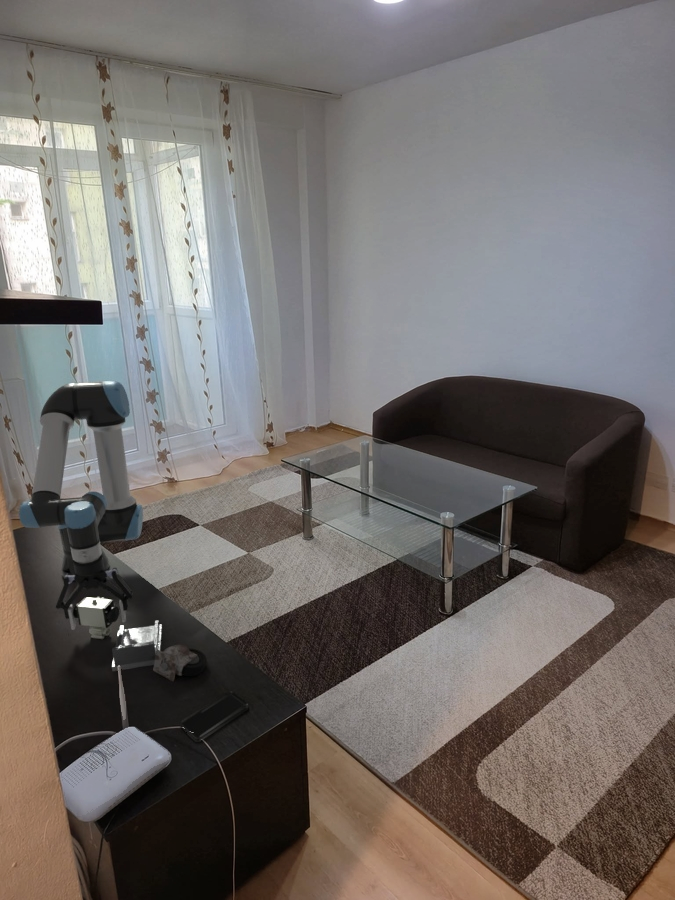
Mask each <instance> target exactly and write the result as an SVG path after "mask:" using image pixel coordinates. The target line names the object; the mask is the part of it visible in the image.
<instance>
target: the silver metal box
mask: <svg viewBox="0 0 675 900" xmlns="http://www.w3.org/2000/svg"><path fill="white" fill-rule="evenodd" d="M162 636H163V625H162V624H160V621H159V620H154V625H147V626H141V627H133V628H128V629H127V628H126V629H125V625H124V624H123V625H120V626H119V630H117V636H116V642H115V646H113V647H112V648H111V649H112V650H111V652H112V658H113V659H112V663H111V669H112V672H117V666H118V665H120V666H121V668H122V670H121V671H124V670H129V669H135V668H142V667H143V668H144V667H149V666H154V662H155V657H156V651H157V649H158V650H160V651H162V641H163V640H162ZM161 640H162V641H161Z"/></svg>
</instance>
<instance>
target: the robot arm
mask: <svg viewBox="0 0 675 900" xmlns="http://www.w3.org/2000/svg"><path fill="white" fill-rule="evenodd" d="M129 415H130V402H129V398H128V394H127V391H126V389H125V387H124V385H123V384H122V383H121V382H119V381H116V380H115V381H114V380H110V381H109V380H101V381H100V380H98V381H85V382H83V381H82V382H69V383H66V384H64V385H62V386H60V387H59V388H57V389H55V391H54V392H53V393H51V394H50V396H49V397H48V398H47V400H46V401H45V403H44V405H43V407H42V409H41V412H40V418H39V423H40V425H41V426H42V427H41V428H42V429H41V433H40V434H41V435H40V440H39V441H40V442H39V447H38V448H39V449H38V454H37V460H36V467H35V473H34V478H33V479H34V480H33V486H32V491H31V492H32V493H31V497H30V500H27V501H26V500H24V501H23V502H21V504H20V505H19V509H18V510H19V511H18V516H19V521H20V523H21V525H22V526H23V527H25V528H43V527H44V528H46V527H54V526H57V528H58V531H59V536H60V540H61V545H62V550H63V557H62V560H61V567H60V568H61V575H62V576H61V577H62V578H63V587H62V589H61V590H60V591H61V592H60V594H59V597H58V598H57V602H56V604H55V609H57V610H60V609H62V610H63V612H64V617H65V619H66V620H68V619H69V622H70V624H69V625H70V628H71V630H73V631H75V630H76V626H77V621H76V618H75V617H74V615H73V610H74V606H73V603H74V601H75V599H76V598H78V595H79V594H80V593H81V592H82V591H83V589H86V590H90V589H99V588H101V589H103V590H106V591H107V592H109V593H110V594H111V595H113V596H114V597H115V598H117V599H118V600H119V604H118V605H119V612H120V616H121V623H126V621H127V615H126V614H127V613H126V611H128V608H129V603H128V600H131V599H133V595H134V591H133V590H132V588H130V586H129V585H128V584H127V582H125V580H124V579H123V578H122V576H121V575H120V574H119V571H118V568H117V567H113V568H112V569H110V570H108V569H109V568H110V563H109V562H110V561H109V558H108V556H107V554H106V553H105V550H103V547H102V546H101V543H110V542H111V543H113V542H126V541H131V540H137V539H139V537H140V536H141V533H142V530H143V529H142V528H143V520H144V509H143V506H142V504H140V503H139V504H137V499H136V498H135V497H134V496H133V495H131V490H130V484H129V481H130V480H129V473H128V467H127V459H126V452H125V451H126V450H125V443H124V439H123V436H124V435H123V430H122V427H123V426H124V424H125V423H126V418H127V417H129ZM77 420H78V421H79V420H80V421H81V420H86V426H87V427H88V428H89V429H91V430H92V432H93V438H94V439H93V440H94V443H95V451H96V458H97V464H98V470H99V471H98V472H99V477H100V484H101V491H102V493H101V492H98V491H88V492H86V493H85V494H83V495H82V496H80V497H68V498H67V497H66V498H61V497H62V496H61V495H62V488H63V482H64V474H65V466H66V460H67V459H66V458H67V450H68V445H69V438H70V437H69V436H70V430H72V429H73V428H74V426H75V421H77ZM108 576H109V578H110V579H112V580H113V581H114V583H115V584H116V585H115V584H113V583H112V582H110V580H109V579H107V577H108ZM73 582H76V583H77V585H76V587H75V588H74V589H73V590H72V591H71V593H70V595H69V597H67V599H66V600H65V601H64V599H65V596H66V594H67V592H68V590H69V586H70V584H73ZM117 586H118V587H117Z"/></svg>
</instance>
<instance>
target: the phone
mask: <svg viewBox="0 0 675 900" xmlns="http://www.w3.org/2000/svg"><path fill="white" fill-rule="evenodd" d="M248 710H249V703H248V702H247V701H245V700H244V699H243V698H242V697H240V696H239V695H238V694H237V693H235V692H234V691H230V690H229V691H226V692H225V693H223V694H222V695H221V696H218V697H217V698H216V699H214V700H213V701H211V702H209V703H207V704H206V705H205V706H203V707H202V708H200V709H198V710H196V711H195V712H193V713H191V714H190V715H189V716H187V717H185V718H184V719H182V720H181V721H180V722H179V724H180V725H179V727H180V726H181V727H184V728H185V729H184V730H185V732H184V733H186V732H187V733H186V734H187V735H188V736H189V738H191V739H192V741H194V742H196V743H199V742H202V741H201V739H203V740H205V739H206V738H208V737H209V736H211V735H212V734H213V733H216V732H217V731H218V730H220V729H221V728H222V727H224V726H226V725H228V723H230V722H231V721H233V720H235V719H236V718H238V717H239V716H240V715H242V714H244V713H245V712H246V711H248ZM181 727H180V728H181ZM189 731H191V732H194V733H191V732H189Z"/></svg>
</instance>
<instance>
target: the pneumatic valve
mask: <svg viewBox="0 0 675 900" xmlns="http://www.w3.org/2000/svg"><path fill="white" fill-rule="evenodd" d="M114 601H115V600H114V599H108V598H105V597H100V596H97V597H88V596H85V597H84V598H83V599H82V600H81V601H79V602H77V603H76V604H75V606H73V615H74V617H75V619H77V622H78V625H79V626H88V627H89V629H88V632H89V634H91V635H90V637H91V638H92V639H98V640H99V639H100V640H103V639H105V637H108V636H109V635H110V632H111V629H110V626H111V625H112V624H113V623H115V622H117V620H118V619H119V617H120V607H119V606H117V605H116V604H115V602H114Z"/></svg>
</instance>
